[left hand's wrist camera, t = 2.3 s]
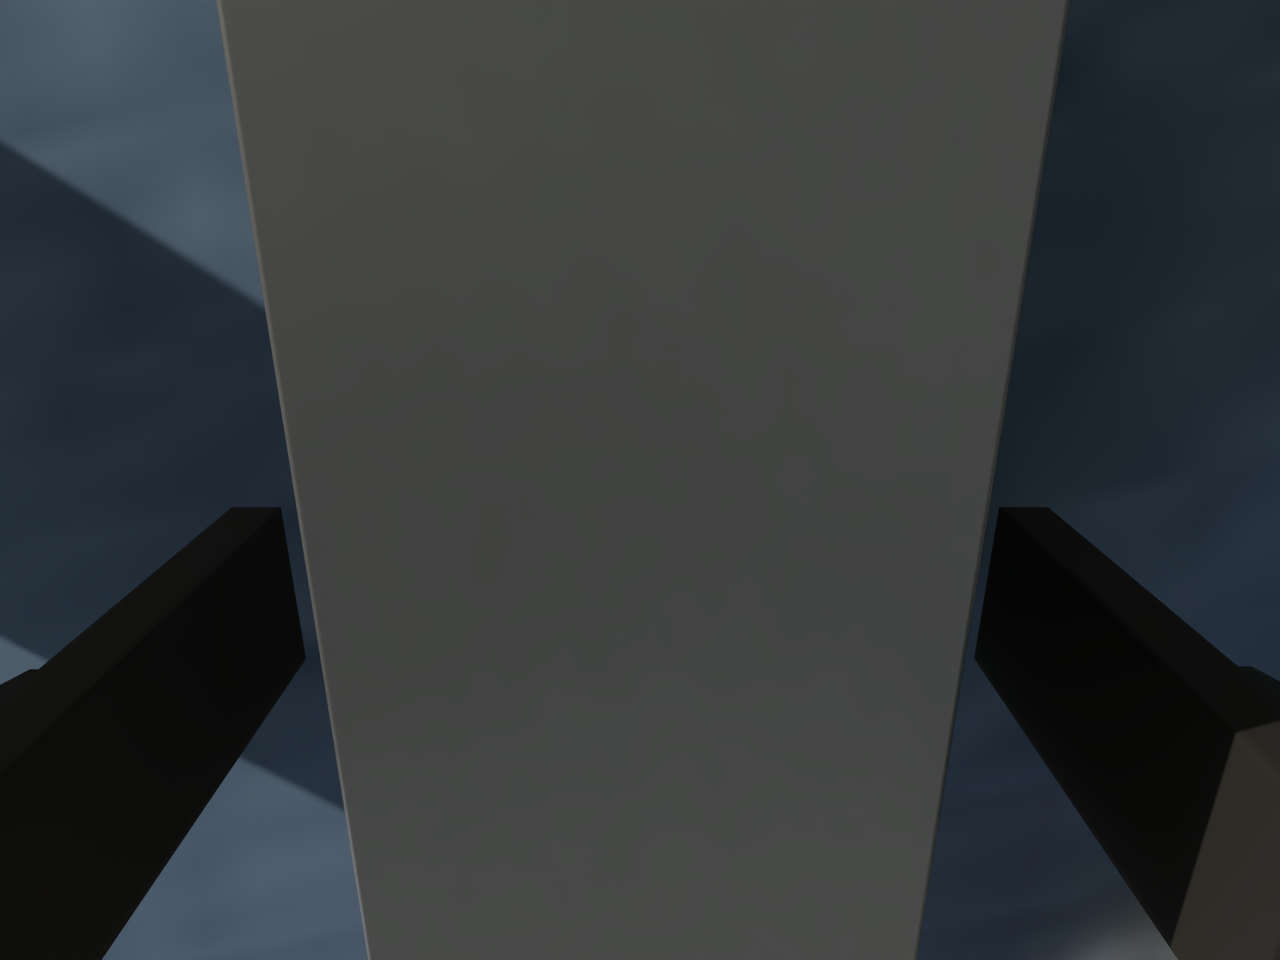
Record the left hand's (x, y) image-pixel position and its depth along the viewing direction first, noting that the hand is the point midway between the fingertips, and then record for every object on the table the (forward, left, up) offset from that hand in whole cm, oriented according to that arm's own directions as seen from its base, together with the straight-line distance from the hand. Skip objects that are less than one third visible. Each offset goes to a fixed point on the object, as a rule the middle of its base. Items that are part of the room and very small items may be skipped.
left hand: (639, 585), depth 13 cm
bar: (+2, +8, -2) cm, 9 cm away
